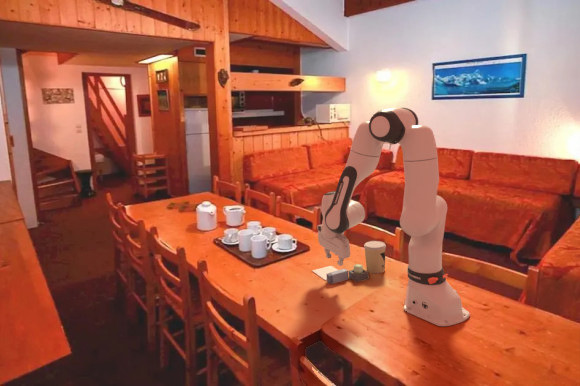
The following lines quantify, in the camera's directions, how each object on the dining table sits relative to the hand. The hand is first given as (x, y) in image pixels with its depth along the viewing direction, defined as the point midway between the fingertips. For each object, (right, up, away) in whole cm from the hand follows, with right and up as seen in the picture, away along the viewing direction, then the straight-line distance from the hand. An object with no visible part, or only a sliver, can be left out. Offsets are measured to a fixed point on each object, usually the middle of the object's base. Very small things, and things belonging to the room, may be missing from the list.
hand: (334, 261), depth 168 cm
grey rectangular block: (+2, -9, +2) cm, 9 cm away
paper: (-2, -7, +10) cm, 12 cm away
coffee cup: (+19, -6, +9) cm, 22 cm away
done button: (+11, -6, +2) cm, 12 cm away
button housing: (+11, -8, +2) cm, 13 cm away
